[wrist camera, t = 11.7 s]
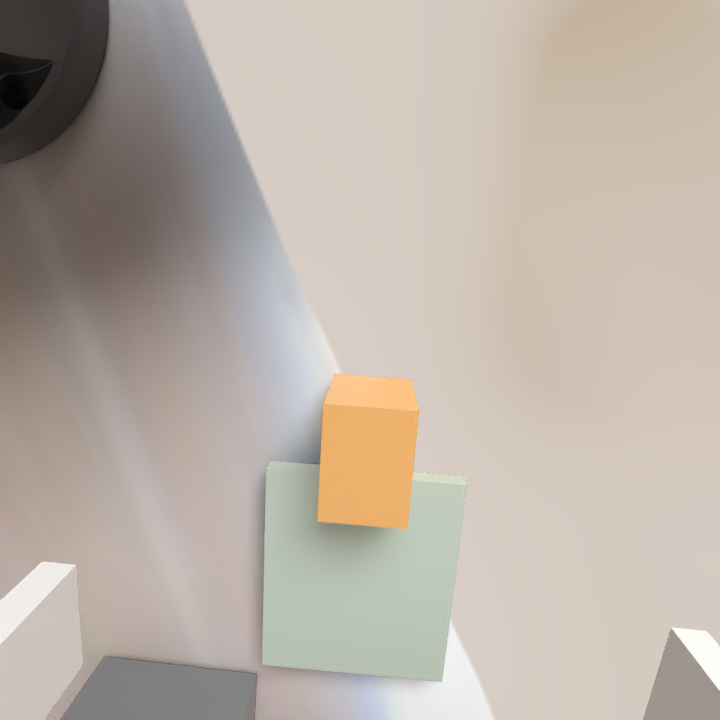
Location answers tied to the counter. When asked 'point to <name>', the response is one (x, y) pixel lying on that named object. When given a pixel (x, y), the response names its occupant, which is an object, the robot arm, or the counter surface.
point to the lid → (361, 543)
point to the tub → (163, 693)
